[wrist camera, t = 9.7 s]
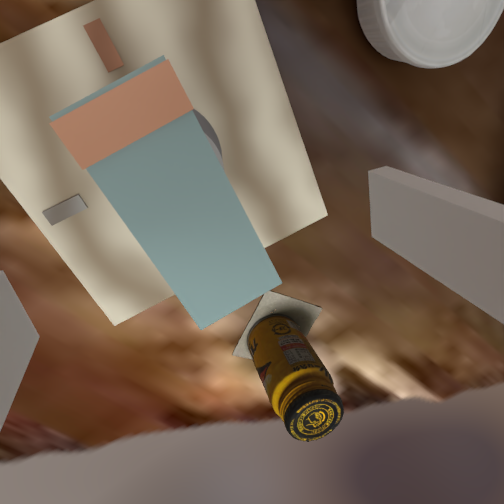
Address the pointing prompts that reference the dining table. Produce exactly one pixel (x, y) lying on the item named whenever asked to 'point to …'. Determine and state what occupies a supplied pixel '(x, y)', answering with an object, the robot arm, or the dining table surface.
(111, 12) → the post base
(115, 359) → the dining table surface
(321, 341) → the dining table surface
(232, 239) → the teal block on base
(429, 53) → the ramekin
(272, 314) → the condiment
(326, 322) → the dining table surface
